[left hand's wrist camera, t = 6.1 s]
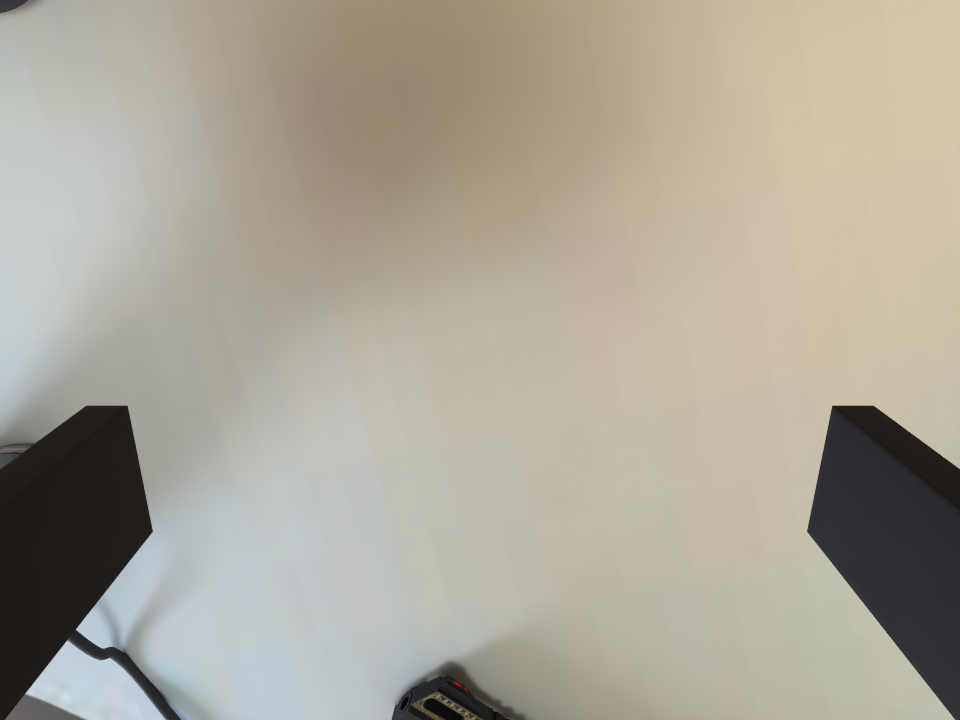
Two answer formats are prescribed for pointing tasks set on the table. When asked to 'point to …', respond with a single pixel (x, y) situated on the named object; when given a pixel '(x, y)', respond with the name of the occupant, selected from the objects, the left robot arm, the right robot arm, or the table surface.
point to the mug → (10, 4)
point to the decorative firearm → (442, 703)
